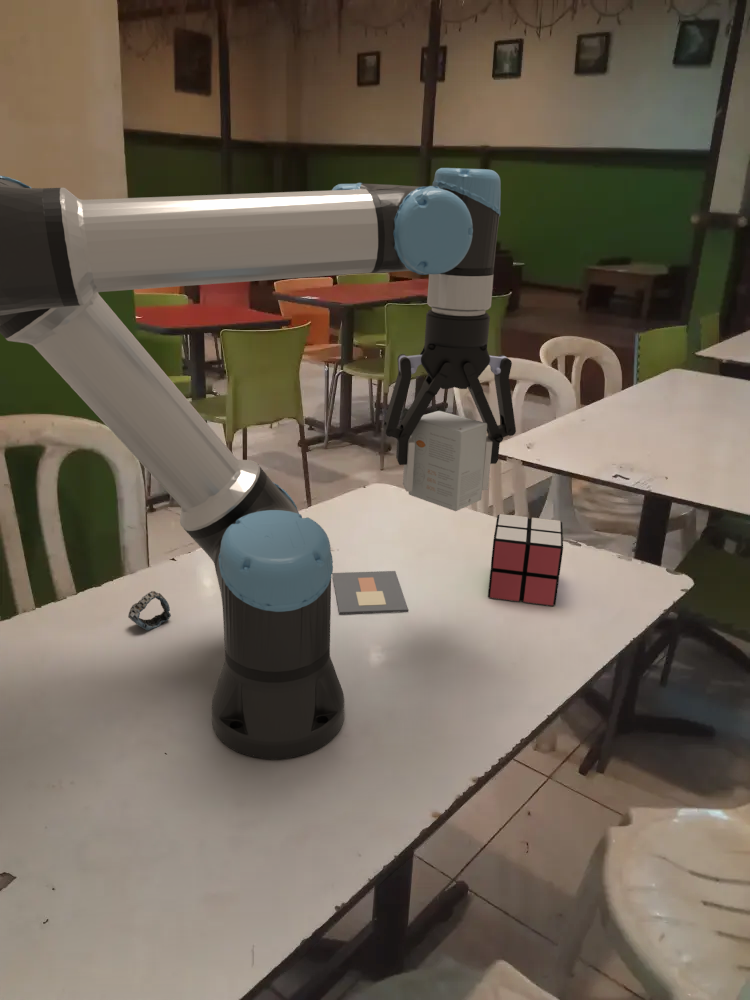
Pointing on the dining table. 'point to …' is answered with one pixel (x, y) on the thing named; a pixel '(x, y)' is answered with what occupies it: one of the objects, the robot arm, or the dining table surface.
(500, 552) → the puzzle cube
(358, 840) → the dining table surface
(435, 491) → the small box
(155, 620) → the wristwatch
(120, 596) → the dining table surface
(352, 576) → the card
